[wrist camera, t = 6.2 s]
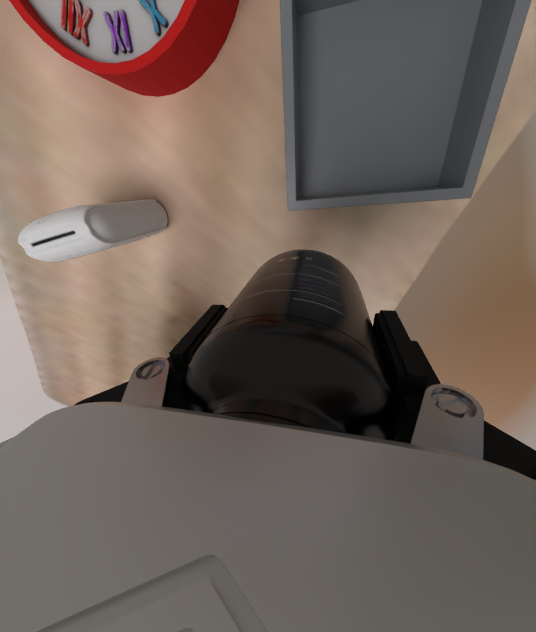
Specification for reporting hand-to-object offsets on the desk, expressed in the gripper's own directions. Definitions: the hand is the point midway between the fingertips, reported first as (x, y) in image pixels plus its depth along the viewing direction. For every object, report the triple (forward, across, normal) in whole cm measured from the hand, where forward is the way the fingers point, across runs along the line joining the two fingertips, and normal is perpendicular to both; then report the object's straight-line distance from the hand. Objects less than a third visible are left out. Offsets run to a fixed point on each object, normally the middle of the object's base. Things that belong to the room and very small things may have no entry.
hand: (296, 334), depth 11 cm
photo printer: (+20, +24, -3) cm, 31 cm away
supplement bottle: (+4, 0, 0) cm, 4 cm away
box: (+20, -5, -12) cm, 24 cm away
